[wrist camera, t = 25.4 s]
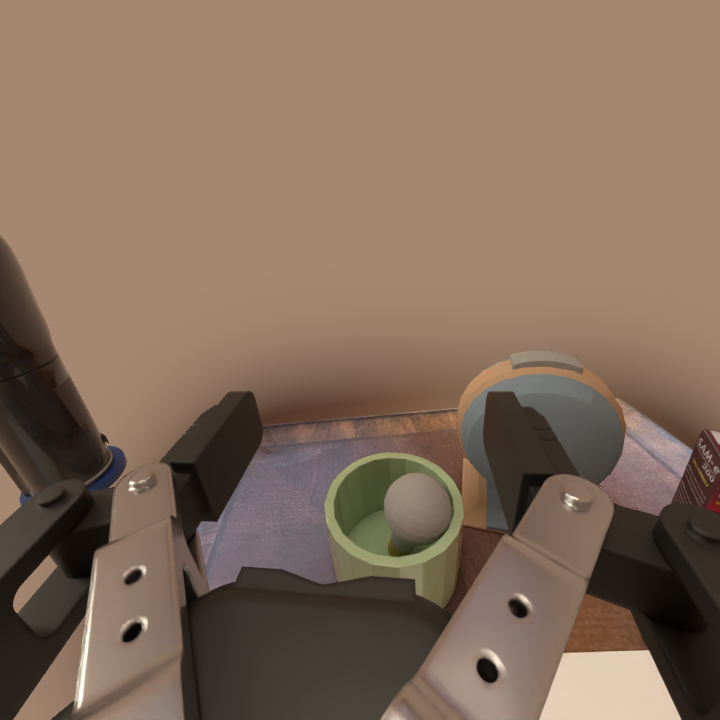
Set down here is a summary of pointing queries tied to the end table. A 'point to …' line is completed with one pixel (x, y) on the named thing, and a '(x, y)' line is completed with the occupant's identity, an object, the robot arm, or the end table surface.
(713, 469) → the supplement box
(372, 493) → the pot
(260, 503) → the end table surface
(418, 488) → the light bulb
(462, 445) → the alarm clock
